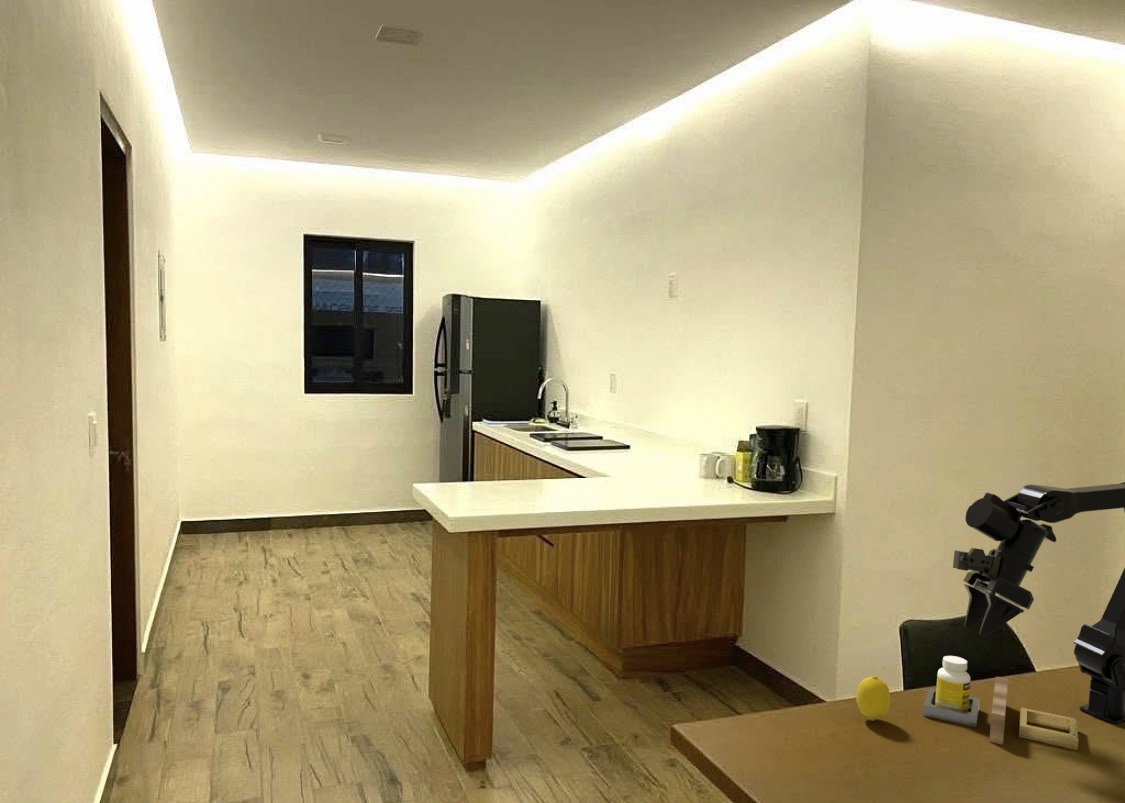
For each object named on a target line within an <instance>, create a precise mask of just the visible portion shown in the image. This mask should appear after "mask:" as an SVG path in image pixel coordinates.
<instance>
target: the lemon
mask: <svg viewBox="0 0 1125 803" xmlns="http://www.w3.org/2000/svg"><path fill="white" fill-rule="evenodd" d="M855 698H856V704H857V708H858V709H859V711H860V712H861V714H862V715H863V716H865V717H867V718H868V719H869V721H872V722H874V721H875V720H877V719H880V718H881V719H882V718H883V717H884V716H885V715H887V713H888V711H889V709H890V705H891V693H890V690H889V687H888V685H887V683H886V682H885V681H883V680H882V679H881V678H879V677H878V676H876V675H872V676H869V677H866V678H864V679H863V680H861V681H860V683H859V685H858V687H857V691H856V697H855Z"/></svg>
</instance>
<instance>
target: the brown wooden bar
mask: <svg viewBox="0 0 1125 803" xmlns="http://www.w3.org/2000/svg"><path fill="white" fill-rule="evenodd" d="M1008 687H1009V679H1008V678H1005V677H1000V676H995V682H994V690H993V697H992V706H991V715H990V728H989V743H993V744H998V745H1001V746H1003V745H1004V736H1005V728H1006V726H1005V725H1006V713H1007V704H1008V703H1007V701H1008Z"/></svg>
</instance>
